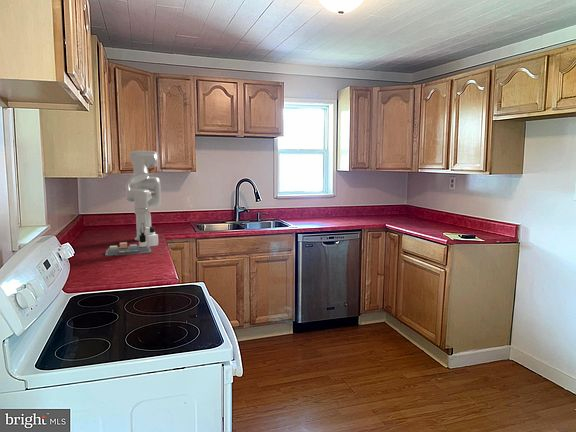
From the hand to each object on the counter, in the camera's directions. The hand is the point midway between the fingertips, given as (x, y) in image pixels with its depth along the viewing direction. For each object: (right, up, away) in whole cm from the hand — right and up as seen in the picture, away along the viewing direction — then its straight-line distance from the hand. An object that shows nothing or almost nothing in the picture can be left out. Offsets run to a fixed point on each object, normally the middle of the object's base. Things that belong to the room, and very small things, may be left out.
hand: (142, 241), depth 248 cm
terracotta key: (-10, -3, -3) cm, 11 cm away
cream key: (0, -3, +1) cm, 3 cm away
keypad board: (-8, -6, -2) cm, 10 cm away
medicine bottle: (-1, -4, +17) cm, 18 cm away
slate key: (-5, -4, -1) cm, 7 cm away
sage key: (-15, -5, -5) cm, 17 cm away
